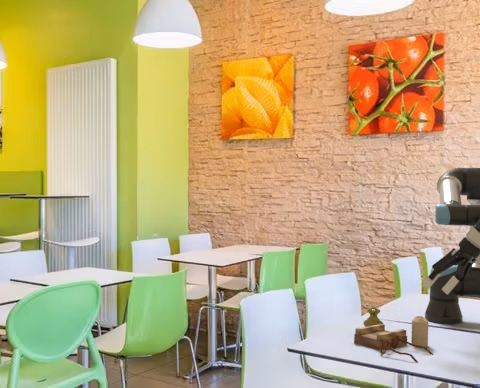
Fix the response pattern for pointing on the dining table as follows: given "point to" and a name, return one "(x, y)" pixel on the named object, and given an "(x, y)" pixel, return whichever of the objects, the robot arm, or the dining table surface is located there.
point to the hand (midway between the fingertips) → (435, 289)
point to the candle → (420, 331)
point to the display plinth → (378, 336)
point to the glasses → (396, 346)
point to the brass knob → (372, 317)
